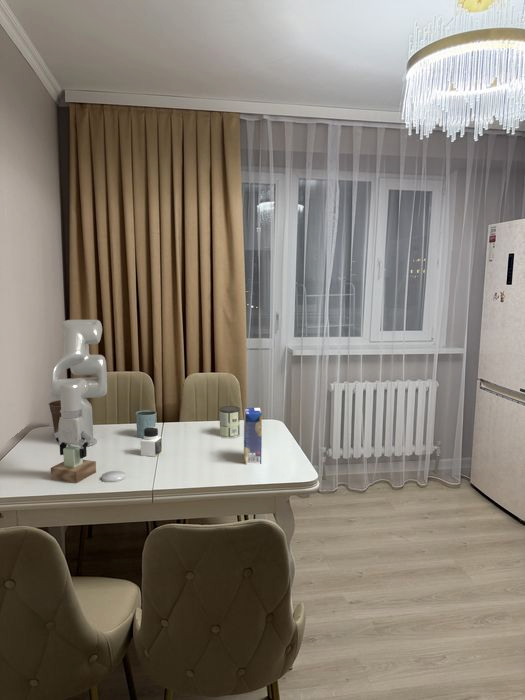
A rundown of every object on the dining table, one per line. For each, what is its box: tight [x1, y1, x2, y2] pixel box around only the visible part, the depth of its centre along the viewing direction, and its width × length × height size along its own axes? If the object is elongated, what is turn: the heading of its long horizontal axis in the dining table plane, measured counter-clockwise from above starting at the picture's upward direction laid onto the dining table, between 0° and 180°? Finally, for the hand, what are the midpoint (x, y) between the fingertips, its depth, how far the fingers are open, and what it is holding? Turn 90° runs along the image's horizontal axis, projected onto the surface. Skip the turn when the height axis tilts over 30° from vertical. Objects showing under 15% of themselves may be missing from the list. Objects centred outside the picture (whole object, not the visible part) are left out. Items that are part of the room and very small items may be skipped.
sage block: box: [62, 445, 84, 467], centre depth 203 cm, size 5×5×7 cm
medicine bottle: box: [140, 426, 163, 458], centre depth 230 cm, size 7×7×12 cm
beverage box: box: [243, 407, 263, 465], centre depth 223 cm, size 7×11×22 cm, turn 6°
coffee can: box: [219, 405, 241, 439], centre depth 259 cm, size 10×10×14 cm
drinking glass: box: [135, 409, 157, 439], centre depth 257 cm, size 10×10×12 cm
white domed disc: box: [101, 470, 127, 483], centre depth 203 cm, size 9×9×2 cm
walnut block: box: [50, 459, 97, 484], centre depth 204 cm, size 12×12×5 cm
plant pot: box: [48, 399, 61, 434], centre depth 259 cm, size 16×16×16 cm
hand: (73, 455), depth 203 cm, fingers open, 9 cm apart
